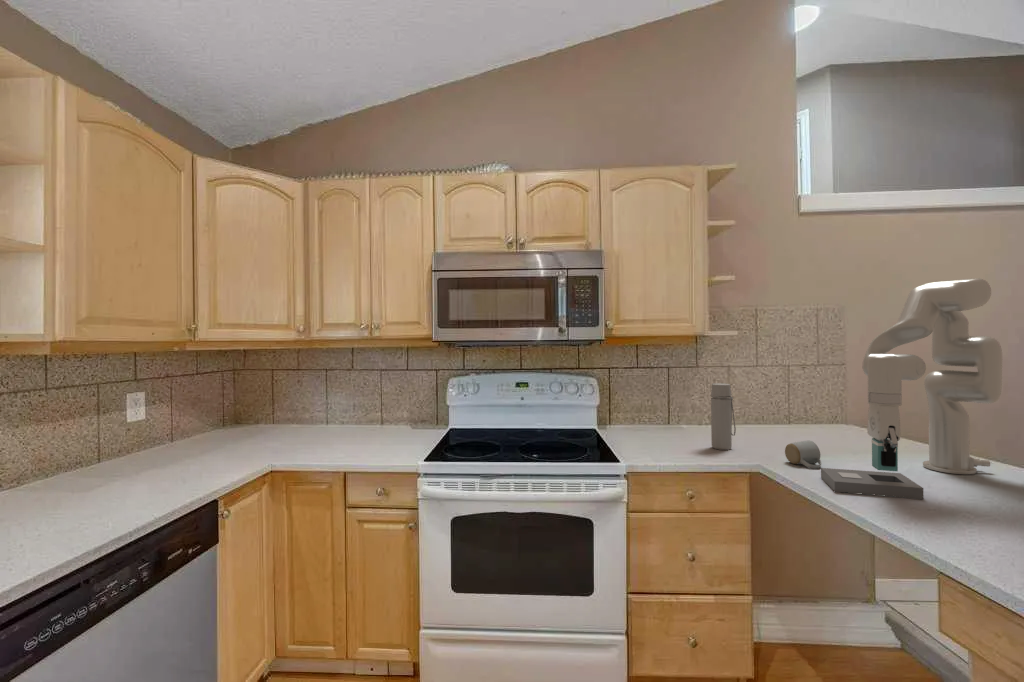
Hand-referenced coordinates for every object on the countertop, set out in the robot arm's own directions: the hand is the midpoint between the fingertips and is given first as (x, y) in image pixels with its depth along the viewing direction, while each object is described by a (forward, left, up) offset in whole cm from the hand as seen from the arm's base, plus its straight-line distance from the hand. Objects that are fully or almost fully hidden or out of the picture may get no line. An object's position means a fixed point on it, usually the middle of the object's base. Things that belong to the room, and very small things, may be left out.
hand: (884, 462), depth 133 cm
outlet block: (+4, 0, -7) cm, 8 cm away
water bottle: (+39, -39, -8) cm, 56 cm away
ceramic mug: (+15, -22, -8) cm, 28 cm away
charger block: (0, 0, -2) cm, 2 cm away
